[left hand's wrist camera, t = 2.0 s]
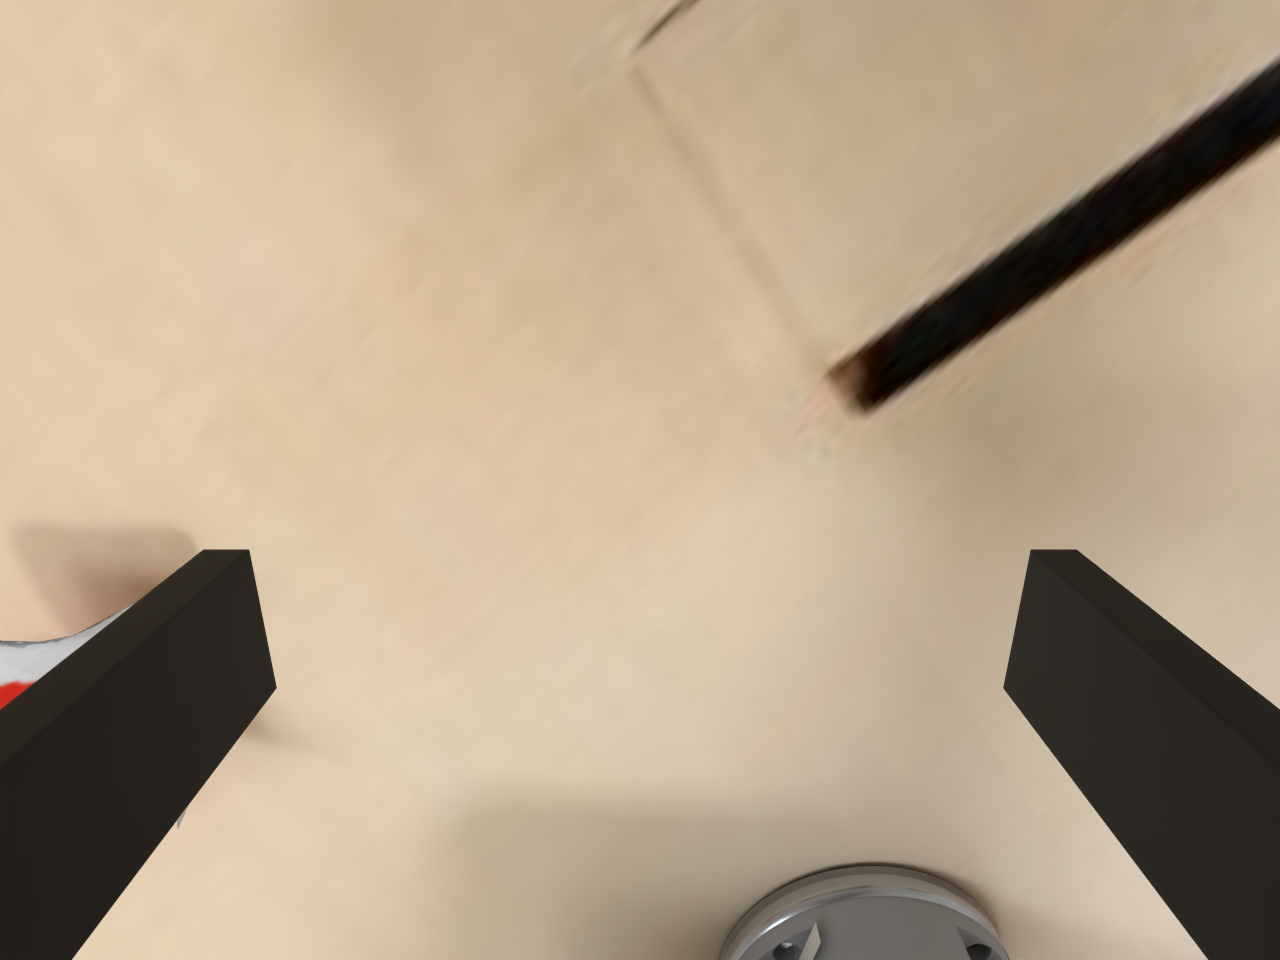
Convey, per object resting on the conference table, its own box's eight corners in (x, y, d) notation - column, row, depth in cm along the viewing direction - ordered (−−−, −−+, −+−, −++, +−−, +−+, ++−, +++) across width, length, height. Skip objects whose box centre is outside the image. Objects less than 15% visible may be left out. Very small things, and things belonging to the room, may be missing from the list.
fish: (-255, 712, 29) (-391, 926, 21) (116, 471, 33) (113, 582, 25) (-8, 829, 36) (-44, 1024, 28) (279, 617, 39) (316, 740, 32)
